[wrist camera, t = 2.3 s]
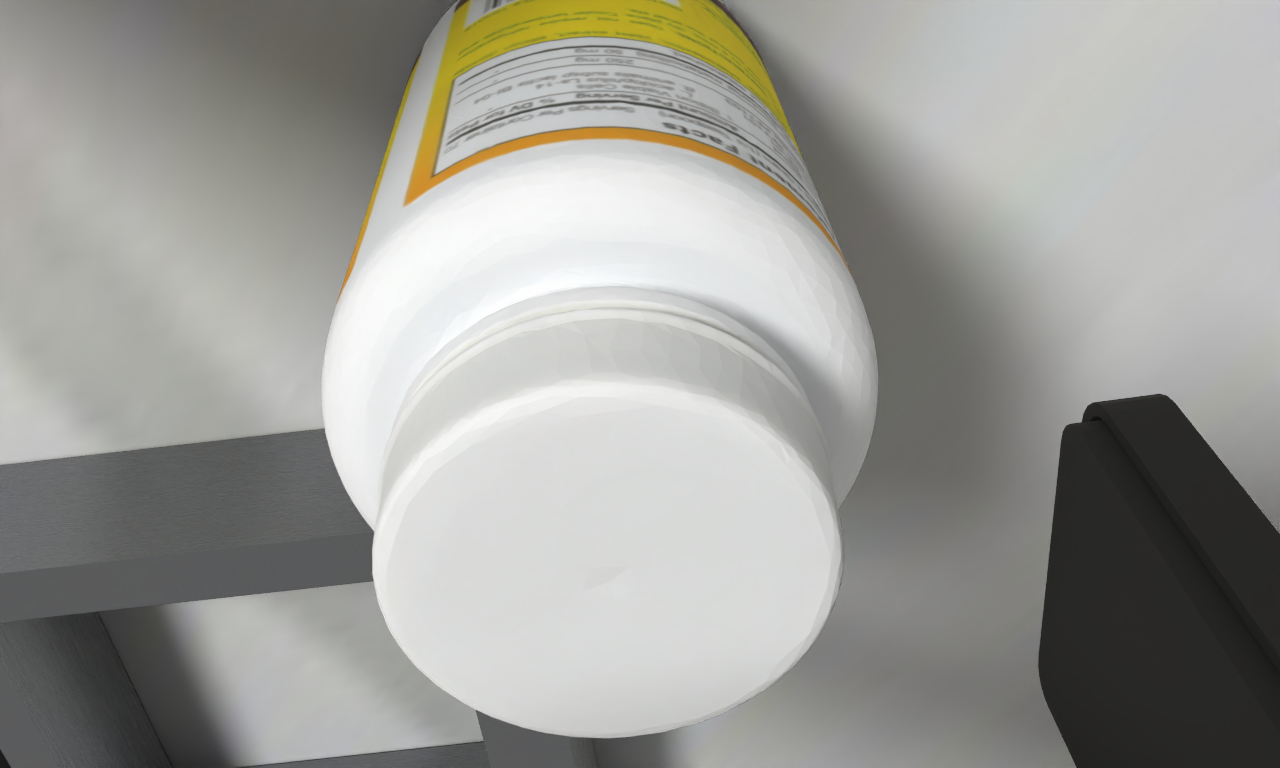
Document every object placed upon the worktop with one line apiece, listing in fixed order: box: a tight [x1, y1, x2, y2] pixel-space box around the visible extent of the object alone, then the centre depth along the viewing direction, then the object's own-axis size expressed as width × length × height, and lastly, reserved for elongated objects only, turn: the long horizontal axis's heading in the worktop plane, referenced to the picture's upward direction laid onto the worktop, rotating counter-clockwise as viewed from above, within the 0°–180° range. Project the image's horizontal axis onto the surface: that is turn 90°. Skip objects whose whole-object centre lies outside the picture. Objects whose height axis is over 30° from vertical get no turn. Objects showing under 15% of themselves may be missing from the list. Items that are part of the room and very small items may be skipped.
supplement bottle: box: [322, 0, 878, 738], centre depth 14 cm, size 6×6×10 cm
